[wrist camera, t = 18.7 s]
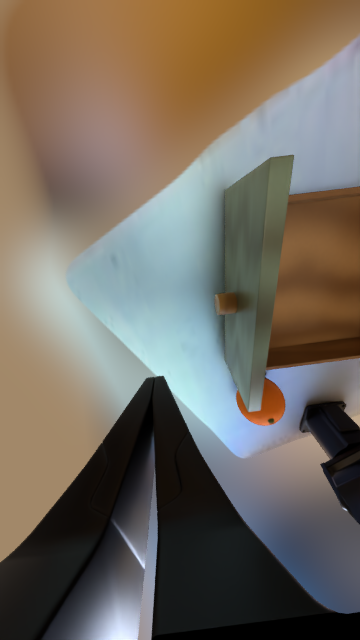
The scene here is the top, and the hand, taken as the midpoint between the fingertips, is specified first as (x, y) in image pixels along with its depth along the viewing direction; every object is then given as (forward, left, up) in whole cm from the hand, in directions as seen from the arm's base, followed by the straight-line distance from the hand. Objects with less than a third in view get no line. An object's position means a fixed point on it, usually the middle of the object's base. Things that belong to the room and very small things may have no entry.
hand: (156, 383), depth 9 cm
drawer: (0, -14, -12) cm, 19 cm away
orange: (-15, -11, -13) cm, 23 cm away
